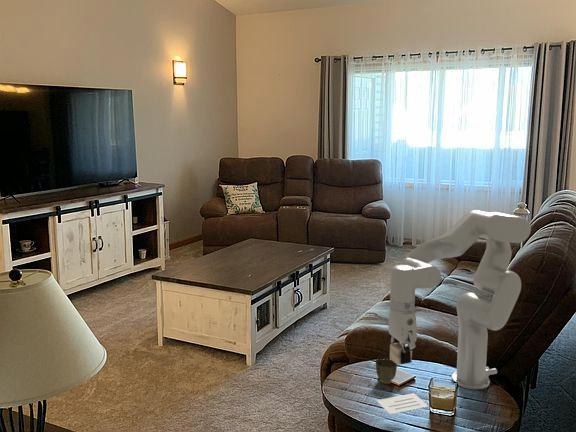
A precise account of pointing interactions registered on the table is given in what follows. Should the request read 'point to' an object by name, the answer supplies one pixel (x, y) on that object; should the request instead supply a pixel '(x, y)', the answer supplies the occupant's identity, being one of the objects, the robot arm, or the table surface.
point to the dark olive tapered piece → (386, 369)
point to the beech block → (397, 352)
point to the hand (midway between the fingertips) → (400, 358)
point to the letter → (402, 403)
